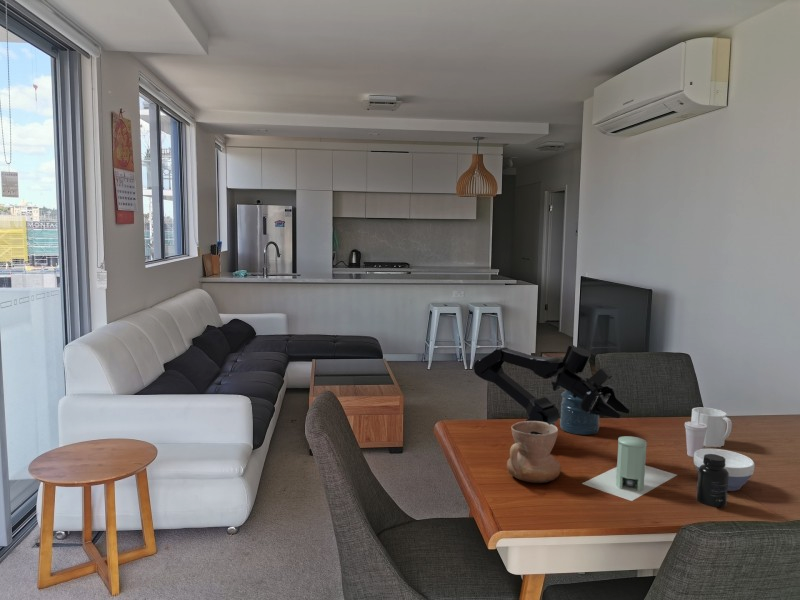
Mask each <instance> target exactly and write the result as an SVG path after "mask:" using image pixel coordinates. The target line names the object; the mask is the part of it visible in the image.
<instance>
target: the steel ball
mask: <svg viewBox="0 0 800 600" xmlns="http://www.w3.org/2000/svg"><path fill="white" fill-rule="evenodd" d="M624 483H625V485H626V486H628V487H633V486H635V484H636V479H627V478H624Z"/></svg>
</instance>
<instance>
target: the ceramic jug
mask: <svg viewBox="0 0 800 600" xmlns="http://www.w3.org/2000/svg"><path fill="white" fill-rule="evenodd" d="M510 430H511V433H512V438H513V440H514V443H513V444H511V447H510V449H509V458H508V459H507V461H506V469H507V471H508V473H510V476H512V477H514V478H516V479H518V480H519V481H524V482H527V483H532V484H543V483H545V484H546V483H549V482H552V481H554V480H556V479H557V478H559V476H560V474H561V471H562V466H561V463H560V462H559V460H558V459H557V458H556V457H554V456H553V455H551V454H550V453H551V452H552V450H553V448H554V446H555V444H556V441H557V438H558V433H559V430H558V427H557V426H556V425H555V424H554V425H552V424H551V425H549V424H548V423H545V422H540V421H527V422H526V420H524V421H518V422H516V423H514V424H513V425H511V429H510ZM533 431H534V432H538V433H541V434H537V435H535V434H531V433H530V432H533Z"/></svg>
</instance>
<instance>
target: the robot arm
mask: <svg viewBox="0 0 800 600" xmlns="http://www.w3.org/2000/svg"><path fill="white" fill-rule="evenodd" d="M591 355H592V354H591V352H590V351H588V350H587V349H586V348H582V347H579V346H575V345H574V344H571V345H568V347H567V349H566V352H565V355H564V357H563V359H560V358H559V357H553V356H536V355H532V354H529V353H524V352H520V351H518V350H514V349H512V348H508V347H506V346H505V347H500V348H499V347H498V348H495V350H493V351H492V352H490V353H489V354H487V355H486V356H484V357H483V358H481V359H478V360H476V361H475V362H474V365H473V373H474V374H475V375H476V376H477V377H478V378H480V379H482V380H483V381H487V382H490V383H493V384H494V385H496V386H497V387H498V388H499V389H500V390H501V391H503V392H504V393H505V394H507V395H508V396H509V397H510V398H511V399H513V400H514V401H515V402H516V403H517V404H519V405H520V406H521V407H522V408H523V409H524V410H525V411H526V413H527V416H528V418H527V419H526V420H525V421H526V422H527V421H540V422H545V423H548V424H549V425H551V424H552V425H554V426H555V424H556V423H557V422H558V421H559V418H560V413H559V409H558V408H557V407H556V403H554V402H552V401H550V400H549V399H548V398H547V397H546V396H545V397H540V398H537V397H536V396H534V395H533V394H531V393H530V392H529V391H528V390H526V389H525V388H524V387H523V386H522V385H520V384H519V383H518V382H516V381H515V380H514V379H513V378H511V377H510V376H509V375H508V374H507V373H506V372H504V368H503V365H504V364H505V363H508V364H511V365H515V366H518V367H520V368H521V367H522V368H524V369H528V370H530V371H531V372H533V373H534V374H535V375H537V376H539V377H540V378H542V379H546V380H547V379H551V378H556V379H555V380H553V381H551V385H552V391H554V392H556V391H558V390H559V389H560V388H562V389H563V390H564V391H565V390H567V391H568V392H570V393H571V394H573V397H574V398H577V397H578V398H580V399H581V400H582V402H581V404H580V408H581V410H582V411H583V412H585V413H586V414H587V413H590V414H596V415H599V416H603V417H609V418H614V419H615V418H616V419H620V418H621V416H622V414H620V413H624V414H629V413H630V412H631V410H630V409H629V408H628V407H627V406H626V405H625V403H624V402H622V401H621V400H620V399H619V397H618V396H617V390H616V387H614V386H613V385H611V384H608V385H605V386H604V385H603V384H604V383H605V382H606V381H608V380H610V379H611V378H612V377H613V375H612V374H611V373H610V370H609V369H607V368H605V367H603V368H601V367H600V368H599V369H598V370H597V371H595V373H594V374H593V375H591V377H587V378H584V377H582V376H580V375H579V373H580V374H581V373H584V371H585V369H586V366H587V365H588V363H589V360H590V358H591ZM590 408H591V410H590ZM530 433H531V434H535V435H537V434H541V433H538V432H534V431H533V432H530Z"/></svg>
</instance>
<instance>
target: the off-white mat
mask: <svg viewBox="0 0 800 600" xmlns="http://www.w3.org/2000/svg"><path fill="white" fill-rule="evenodd" d="M616 474H617V466H616V467H613V468H611V469H609V470H607V471H605V472H603V473H601V474H598V475H597V476H594V477H593V478H589V480H586V481H585V482H582V483H581V484H582V485H584V486H588V487H589V488H593V489H596V490H598V491H601V492H604V493H607V494H610V495H612V496H616V497H619V498H622V499H625V500H627V501H631V502H633V501H635V500H636V499H638V498H640V497H641V496H644V495H645V494H647V493H649V492H651V491H652V490H654V489H656V488H657V487H659V486H661V485H663V484H664V483H666V482H668V481H670V480H672V479H673V478H675V477H677V476H678V474H676V473H673V472H669V471H665V470H662V469H658V468H656V467H653V466H648V465H646V464H645V476H644V490H643V491H640V492H639V491H637V487H638V485H636V484H635V486H633V487H628V486H626V485H625V483H622V489H619V488H618V487H617V486H616Z"/></svg>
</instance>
